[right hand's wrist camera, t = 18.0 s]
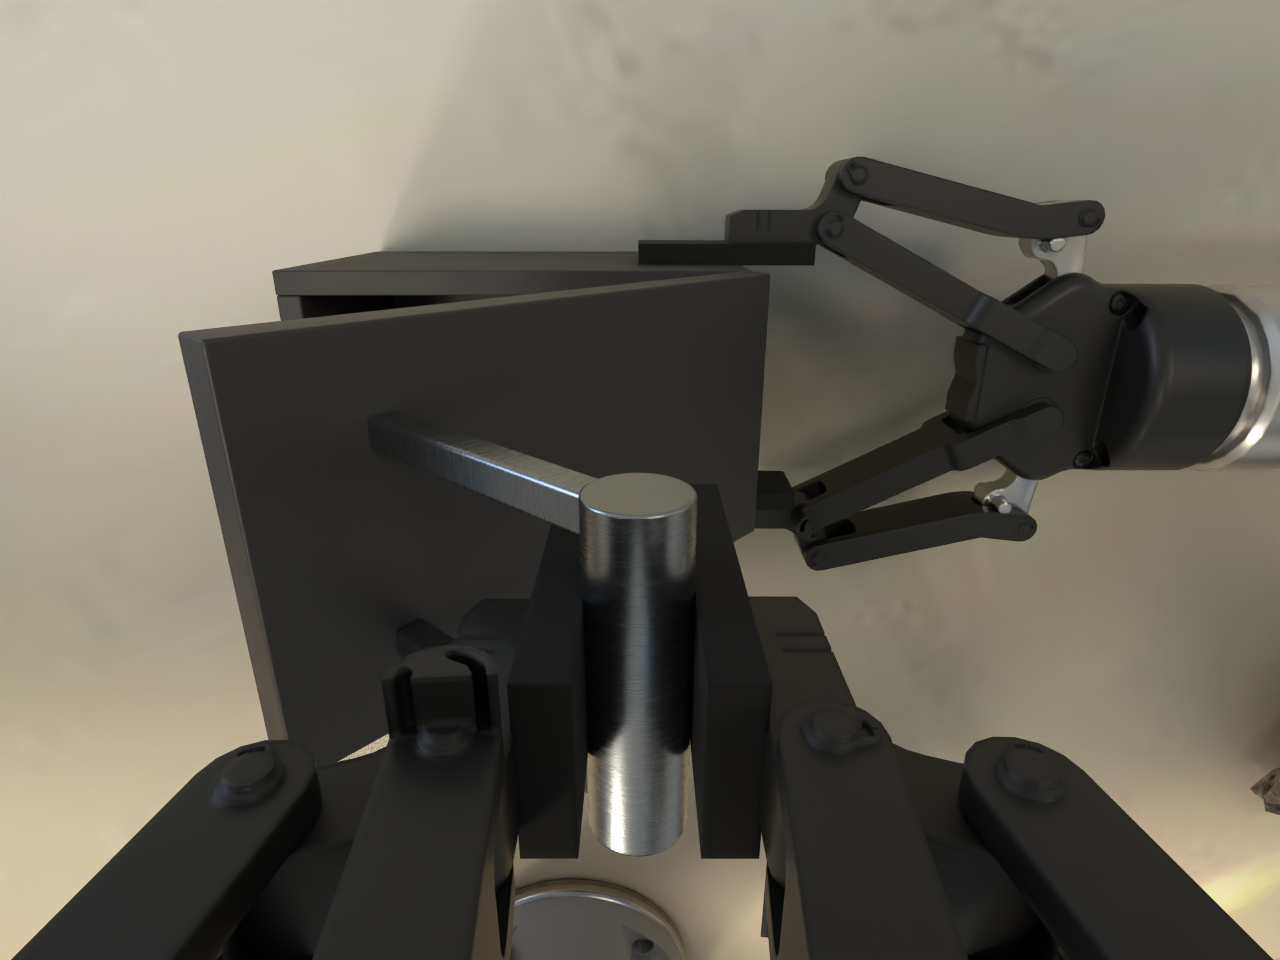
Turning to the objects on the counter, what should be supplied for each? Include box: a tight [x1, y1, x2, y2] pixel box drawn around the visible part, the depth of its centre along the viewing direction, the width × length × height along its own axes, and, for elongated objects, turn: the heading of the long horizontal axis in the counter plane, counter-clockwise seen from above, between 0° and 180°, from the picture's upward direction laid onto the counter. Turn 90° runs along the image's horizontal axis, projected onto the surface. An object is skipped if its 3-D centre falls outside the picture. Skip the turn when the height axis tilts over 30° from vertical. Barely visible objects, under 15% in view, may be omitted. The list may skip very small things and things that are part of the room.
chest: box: [272, 252, 752, 321], centre depth 31 cm, size 16×9×11 cm, turn 90°
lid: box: [178, 271, 770, 856], centre depth 17 cm, size 17×9×9 cm
